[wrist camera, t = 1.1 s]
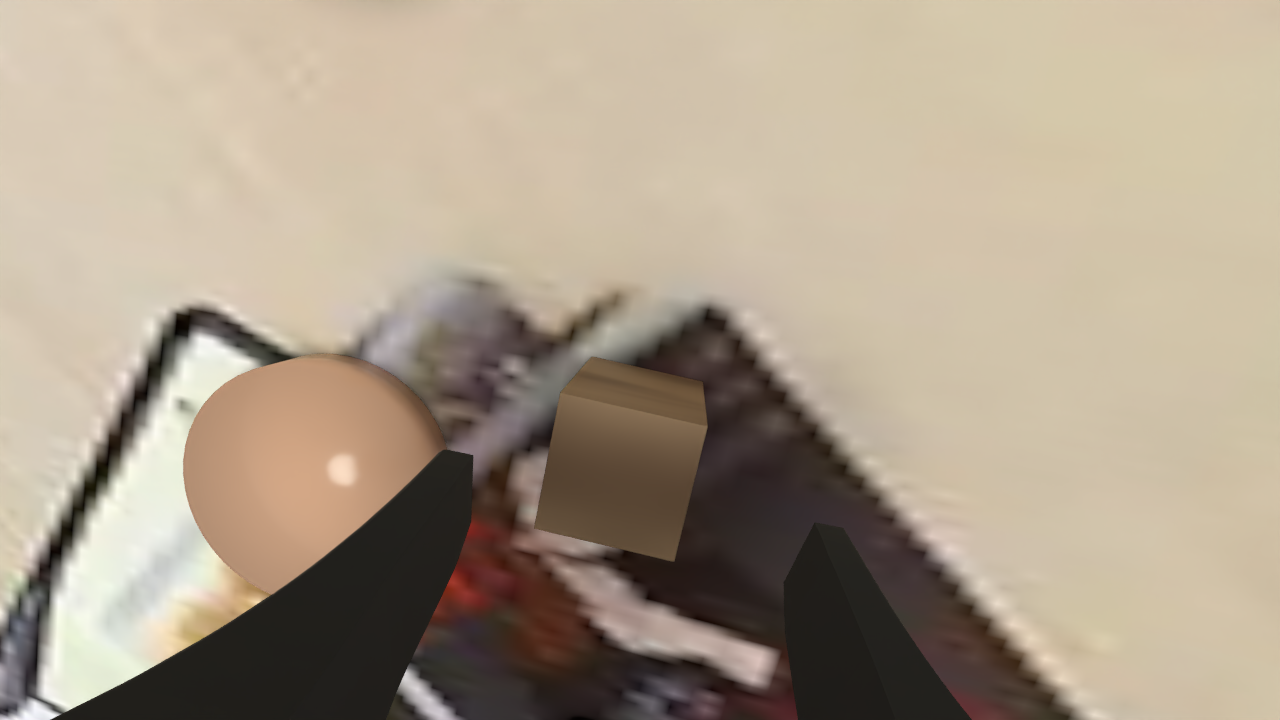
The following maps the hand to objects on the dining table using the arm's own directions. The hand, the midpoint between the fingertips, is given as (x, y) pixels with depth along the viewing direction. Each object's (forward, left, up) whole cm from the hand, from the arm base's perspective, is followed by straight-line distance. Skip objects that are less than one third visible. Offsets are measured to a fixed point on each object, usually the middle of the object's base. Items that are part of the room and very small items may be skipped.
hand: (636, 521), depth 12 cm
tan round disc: (-6, +13, -12) cm, 18 cm away
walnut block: (-1, +1, -11) cm, 12 cm away
